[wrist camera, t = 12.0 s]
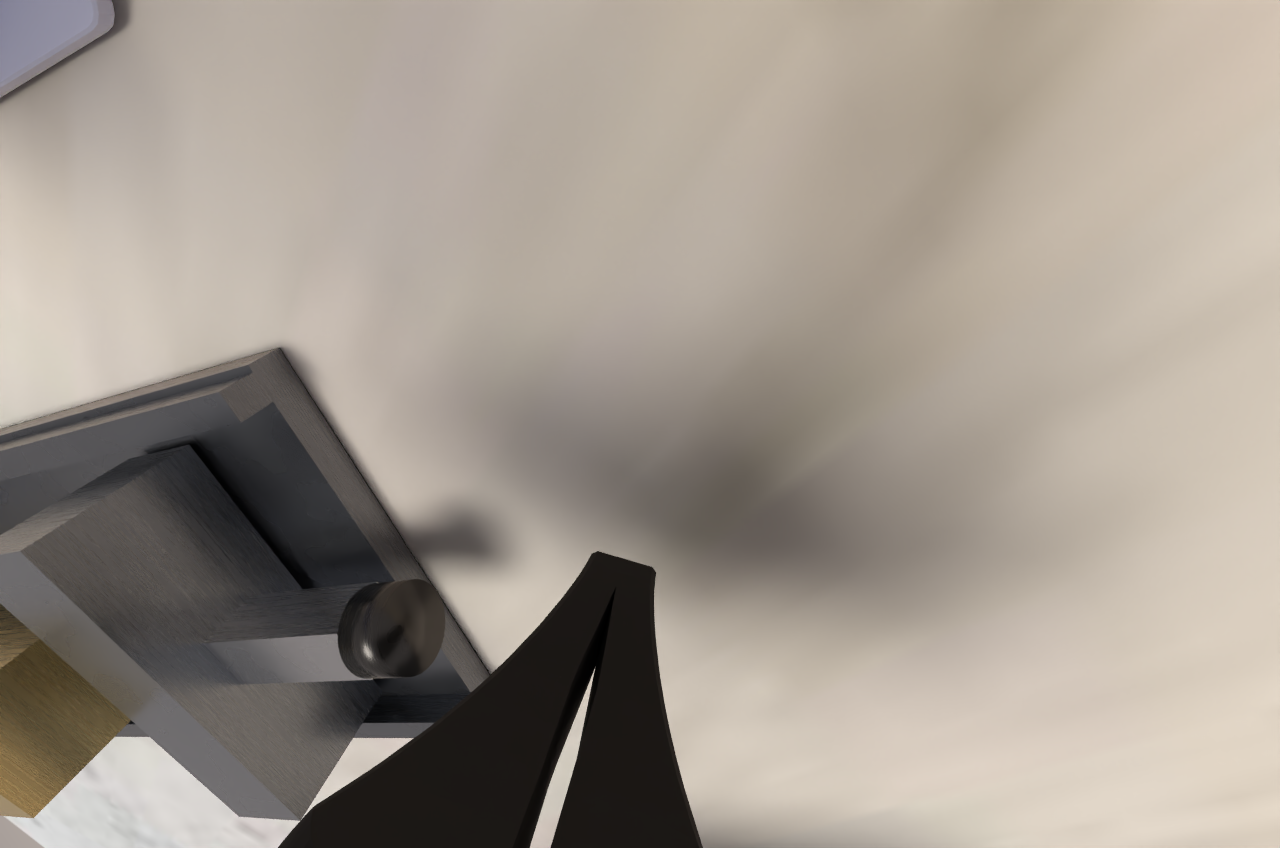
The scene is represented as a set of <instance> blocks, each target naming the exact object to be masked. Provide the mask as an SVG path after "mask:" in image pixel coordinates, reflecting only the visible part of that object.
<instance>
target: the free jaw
mask: <svg viewBox="0 0 1280 848" xmlns="http://www.w3.org/2000/svg"><path fill="white" fill-rule="evenodd" d="M0 604H1V605H3V606H4V607H5V608H6V609H7V610H8V611H9V612H10V613H12V614H13V615H14V616H15V617H16V618H17V619H18V620H19V621H20V622H22V623H23V624H24V625H25V626H26V627H27V628H28V629H29V630H31V631H32V632H33V633H34V634H35V635H36V636H37V637H38V638H40V639H41V640H42V641H43V642H44V643H45V644H46V645H47V646H49V647H50V648H51V649H52V650H53V651H54V652H55V653H56V654H57V655H59V656H60V657H61V658H62V659H63V660H64V661H65V662H66V663H68V664H69V665H70V666H71V667H72V668H73V669H74V670H75V671H77V672H78V673H79V674H80V675H81V676H82V677H83V678H84V679H86V680H87V681H88V682H89V683H90V684H91V685H92V686H93V687H94V688H96V689H97V690H98V691H99V692H100V693H101V694H102V695H103V696H105V697H106V698H107V699H108V700H109V701H110V702H111V703H112V704H114V705H115V706H116V707H117V708H118V709H119V710H120V711H121V712H123V713H124V714H125V715H126V716H127V717H128V718H129V719H130V720H131V721H133V722H134V723H135V724H136V725H137V726H138V727H139V728H140V729H142V730H143V731H144V732H145V733H146V734H147V735H148V736H149V737H151V738H152V739H153V740H154V741H155V742H156V743H157V744H158V745H159V746H161V747H162V748H163V749H164V750H165V751H166V752H167V753H168V754H170V755H171V756H172V757H173V758H174V759H175V760H176V761H177V762H179V763H180V764H181V765H182V766H183V767H184V768H185V769H186V770H188V771H189V772H190V773H191V774H192V775H193V776H194V777H195V778H196V779H198V780H199V781H200V782H201V783H202V784H203V785H204V786H205V787H207V788H208V789H209V790H210V791H211V792H212V793H213V794H214V795H216V796H217V797H218V798H219V799H220V800H221V801H222V802H223V803H225V804H226V805H227V806H228V807H229V808H230V809H231V810H232V811H233V812H235V813H236V814H237V815H238V816H239V817H254V818H269V819H283V820H298V821H300V820H301V819H302V817H303V816H304V814H305V813H306V811H307V809H308V808H309V806H310V805H311V803H312V802H313V800H314V798H315V797H316V795H317V794H318V792H319V791H320V789H321V787H322V786H323V784H324V783H325V781H326V780H327V778H328V776H329V775H330V773H331V772H332V770H333V769H334V767H335V765H336V764H337V762H338V761H339V759H340V758H341V756H342V754H343V753H344V751H345V750H346V748H347V747H348V745H349V743H350V742H351V740H352V739H353V737H354V736H355V734H356V732H357V731H358V729H359V728H360V726H361V725H362V723H363V721H364V720H365V718H366V717H367V715H368V714H369V712H370V710H371V709H372V707H373V706H374V704H375V703H376V701H377V699H378V698H379V696H380V695H381V693H382V692H383V691H382V690H381V689H380V687H379V686H378V685H377V684H376V682H375V681H374V680H373V679H377V678H404V677H414V676H417V675H419V674H421V673H423V672H424V671H425V670H427V669H428V668H429V667H430V665H431V664H432V663H433V662H434V660H435V659H436V657H437V655H438V653H439V651H440V648H441V645H442V642H443V638H444V633H445V612H444V607H443V603H442V600H441V598H440V596H439V594H438V592H437V591H436V589H435V588H434V587H433V586H432V585H431V584H430V583H428V582H426V581H424V580H421V579H411V580H401V581H392V582H382V583H378V582H370V583H361V584H351V585H342V586H332V587H323V588H313V589H304V590H303V589H302V588H301V587H300V585H299V584H298V583H297V582H296V580H295V579H294V578H293V576H292V575H291V574H290V573H289V571H288V570H287V569H286V567H285V566H284V565H283V564H282V562H281V561H280V560H279V559H278V557H277V556H276V555H275V553H274V552H273V551H272V550H271V548H270V547H269V546H268V545H267V543H266V542H265V541H264V539H263V538H262V537H261V536H260V534H259V533H258V532H257V530H256V529H255V528H254V527H253V525H252V524H251V523H250V522H249V520H248V519H247V518H246V516H245V515H244V514H243V513H242V511H241V510H240V509H239V508H238V506H237V505H236V504H235V502H234V501H233V500H232V499H231V497H230V496H229V495H228V493H227V492H226V491H225V490H224V488H223V487H222V486H221V485H220V483H219V482H218V481H217V479H216V478H215V477H214V476H213V474H212V473H211V472H210V471H209V469H208V468H207V467H206V465H205V464H204V463H203V462H202V460H201V459H200V458H199V456H198V455H197V454H196V453H195V451H194V450H193V449H192V448H191V446H190V445H185V446H181V447H177V448H172V449H168V450H164V451H160V452H155V453H151V454H147V455H143V456H138V457H134V458H130V459H128V460H126V461H124V462H123V463H121V464H119V465H118V466H116V467H114V468H113V469H111V470H109V471H108V472H106V473H104V474H103V475H101V476H99V477H97V478H96V479H94V480H92V481H91V482H89V483H87V484H86V485H84V486H82V487H81V488H79V489H77V490H76V491H74V492H72V493H71V494H69V495H67V496H65V497H64V498H62V499H60V500H59V501H57V502H55V503H54V504H52V505H50V506H49V507H47V508H45V509H44V510H42V511H40V512H39V513H37V514H35V515H33V516H32V517H30V518H28V519H27V520H25V521H23V522H22V523H20V524H18V525H17V526H15V527H13V528H12V529H10V530H8V531H6V532H5V533H3V534H1V535H0Z"/></svg>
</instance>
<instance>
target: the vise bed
mask: <svg viewBox="0 0 1280 848" xmlns="http://www.w3.org/2000/svg"><path fill="white" fill-rule="evenodd" d="M185 445H190V446H191V448H192V449H193V450H194V451H195V453H196V454H197V455H198V456H199V458H200V459H201V460H202V462H203V463H204V464H205V465H206V467H207V468H208V469H209V471H210V472H211V473H212V474H213V476H214V477H215V478H216V479H217V481H218V482H219V483H220V485H221V486H222V487H223V488H224V490H225V491H226V492H227V493H228V495H229V496H230V497H231V499H232V500H233V501H234V502H235V504H236V505H237V506H238V508H239V509H240V510H241V511H242V513H243V514H244V515H245V516H246V518H247V519H248V520H249V522H250V523H251V524H252V525H253V527H254V528H255V529H256V530H257V532H258V533H259V534H260V536H261V537H262V538H263V539H264V541H265V542H266V543H267V545H268V546H269V547H270V548H271V550H272V551H273V552H274V553H275V555H276V556H277V557H278V559H279V560H280V561H281V562H282V564H283V565H284V566H285V567H286V569H287V570H288V571H289V573H290V574H291V575H292V576H293V578H294V579H295V580H296V582H297V583H298V584H299V585H300V587H301V588H302V589H303V590H304V589H313V588H323V587H332V586H342V585H351V584H361V583H370V582H378V583H382V582H392V581H401V580H411V579H421V580H424V581H426V582H428V583H430V582H429V580H428V578H427V577H426V575H425V574H424V572H423V571H422V569H421V568H420V566H419V564H418V563H417V561H416V560H415V558H414V557H413V555H412V554H411V552H410V550H409V549H408V547H407V546H406V544H405V543H404V541H403V540H402V538H401V537H400V535H399V533H398V532H397V530H396V529H395V527H394V526H393V524H392V523H391V521H390V519H389V518H388V516H387V515H386V513H385V512H384V510H383V509H382V507H381V505H380V504H379V502H378V501H377V499H376V498H375V496H374V495H373V493H372V491H371V490H370V488H369V487H368V485H367V484H366V482H365V481H364V479H363V477H362V476H361V474H360V473H359V471H358V470H357V468H356V467H355V465H354V464H353V462H352V460H351V459H350V457H349V456H348V454H347V453H346V451H345V450H344V448H343V446H342V445H341V443H340V442H339V440H338V439H337V437H336V436H335V434H334V432H333V431H332V429H331V428H330V426H329V425H328V423H327V422H326V420H325V418H324V417H323V415H322V414H321V412H320V411H319V409H318V408H317V406H316V404H315V403H314V401H313V400H312V398H311V397H310V395H309V394H308V392H307V391H306V389H305V387H304V386H303V384H302V383H301V381H300V380H299V378H298V377H297V375H296V373H295V372H294V370H293V369H292V367H291V366H290V364H289V363H288V361H287V359H286V358H285V356H284V355H283V353H282V352H281V350H280V349H279V348H277V349H273V350H270V351H266V352H263V353H260V354H256V355H253V356H249V357H246V358H242V359H239V360H236V361H232V362H229V363H225V364H222V365H218V366H215V367H212V368H208V369H205V370H201V371H198V372H194V373H191V374H188V375H184V376H181V377H177V378H174V379H171V380H167V381H164V382H160V383H157V384H153V385H150V386H147V387H143V388H140V389H136V390H133V391H129V392H126V393H123V394H119V395H116V396H112V397H109V398H105V399H102V400H99V401H95V402H92V403H88V404H85V405H81V406H78V407H75V408H71V409H68V410H64V411H61V412H58V413H54V414H51V415H47V416H44V417H40V418H37V419H34V420H30V421H27V422H23V423H20V424H16V425H13V426H10V427H6V428H3V429H0V535H1V534H3V533H5V532H6V531H8V530H10V529H12V528H13V527H15V526H17V525H18V524H20V523H22V522H23V521H25V520H27V519H28V518H30V517H32V516H33V515H35V514H37V513H39V512H40V511H42V510H44V509H45V508H47V507H49V506H50V505H52V504H54V503H55V502H57V501H59V500H60V499H62V498H64V497H65V496H67V495H69V494H71V493H72V492H74V491H76V490H77V489H79V488H81V487H82V486H84V485H86V484H87V483H89V482H91V481H92V480H94V479H96V478H97V477H99V476H101V475H103V474H104V473H106V472H108V471H109V470H111V469H113V468H114V467H116V466H118V465H119V464H121V463H123V462H124V461H126V460H128V459H130V458H134V457H138V456H143V455H147V454H151V453H155V452H160V451H164V450H168V449H172V448H177V447H181V446H185ZM430 584H431V583H430ZM442 603H443V602H442ZM443 607H444V612H445V633H444V638H443V642H442V645H441V648H440V651H439V653H438V655H437V657H436V659H435V660H434V662H433V663H432V664H431V665H430V667H429V668H428V669H427V670H425V671H424V672H423V673H421V674H419V675H417V676H414V677H404V678H377V679H373V680H374V681H375V682H376V684H377V685H378V686H379V687H380V689H381V690H382V691H383V692H382V693H381V695H380V696H379V698H378V699H377V701H376V703H375V704H374V706H373V707H372V709H371V710H370V712H369V714H368V715H367V717H366V718H365V720H364V721H363V723H362V725H361V726H360V728H359V729H358V731H357V732H356V734H355V736H354V737H353V738H415V737H416V736H418V735H419V734H421V733H422V732H423V731H425V730H426V729H427V728H429V727H430V726H431V725H432V724H434V723H435V722H436V721H437V720H439V719H440V718H441V717H442V716H444V715H445V714H446V713H447V712H449V711H450V710H451V709H452V708H453V707H454V706H456V705H457V704H458V703H459V702H460V701H462V700H463V699H464V698H465V697H466V696H468V695H469V694H470V693H471V692H472V691H473V690H474V689H476V688H477V687H478V686H479V685H480V684H481V683H482V682H483V681H484V680H486V679H487V678H488V677H489V676H490V675H489V673H488V672H487V670H486V669H485V667H484V665H483V664H482V662H481V661H480V659H479V658H478V656H477V655H476V653H475V651H474V650H473V648H472V647H471V645H470V644H469V642H468V641H467V639H466V637H465V636H464V634H463V633H462V631H461V630H460V628H459V627H458V625H457V623H456V622H455V620H454V619H453V617H452V616H451V614H450V613H449V611H448V610H447V608H446V606H445V605H444V603H443ZM115 737H149V736H148V735H147V734H146V733H145V732H144V731H143V730H142V729H140V728H139V727H138V726H137V725H136V724H135V723H134V722H133V721H130V722H129V723H128V724H127V725H126V726H125V727H124V728H123V729H122V730H121V731H120V732H119V733H118V734H117V735H116V736H115Z"/></svg>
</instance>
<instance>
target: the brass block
mask: <svg viewBox="0 0 1280 848" xmlns="http://www.w3.org/2000/svg"><path fill="white" fill-rule="evenodd" d="M130 721H131V720H130V719H129V718H128V717H127V716H126V715H125V714H124V713H123V712H121V711H120V710H119V709H118V708H117V707H116V706H115V705H114V704H112V703H111V702H110V701H109V700H108V699H107V698H106V697H105V696H103V695H102V694H101V693H100V692H99V691H98V690H97V689H96V688H94V687H93V686H92V685H91V684H90V683H89V682H88V681H87V680H86V679H84V678H83V677H82V676H81V675H80V674H79V673H78V672H77V671H75V670H74V669H73V668H72V667H71V666H70V665H69V664H68V663H66V662H65V661H64V660H63V659H62V658H61V657H60V656H59V655H57V654H56V653H55V652H54V651H53V650H52V649H51V648H50V647H49V646H47V645H46V644H45V643H44V642H43V641H42V640H41V639H40V638H38V637H37V636H36V635H35V634H34V633H33V632H32V631H31V630H29V629H28V628H27V627H26V626H25V625H24V624H23V623H22V622H20V621H19V620H18V619H17V618H16V617H15V616H14V615H13V614H12V613H10V612H9V611H8V610H7V609H6V608H5V607H4V606H3V605H1V604H0V815H1V816H13V817H26V818H34V817H35V816H36V815H37V814H38V813H39V812H40V811H41V810H42V809H43V808H44V807H45V806H46V805H47V804H48V803H49V802H50V801H51V800H52V799H53V798H54V797H55V796H56V795H57V794H58V793H59V792H60V791H61V790H62V789H63V788H64V787H65V786H66V785H67V784H68V783H69V782H70V781H71V780H72V779H73V778H74V777H75V776H76V775H77V774H78V773H79V772H80V771H81V770H82V769H83V768H84V767H85V766H86V765H87V764H88V763H89V762H90V761H91V760H92V759H93V758H94V757H95V756H96V755H97V754H98V753H99V752H100V751H101V750H102V749H103V748H104V747H105V746H106V745H107V744H108V743H109V742H110V741H111V740H112V739H113V738H114V737H115V736H116V735H117V734H118V733H119V732H120V731H121V730H122V729H123V728H124V727H125V726H126V725H127V724H128V723H129V722H130Z"/></svg>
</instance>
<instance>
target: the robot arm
mask: <svg viewBox="0 0 1280 848" xmlns="http://www.w3.org/2000/svg"><path fill="white" fill-rule="evenodd" d="M114 17H115V12H114V7H113V2H112V0H0V98H1V97H2V96H4V95H6V94H7V93H9V92H10V91H12V90H14V89H15V88H17V87H19V86H20V85H22V84H24V83H25V82H27V81H28V80H30V79H32V78H33V77H35V76H37V75H38V74H40V73H42V72H43V71H45V70H46V69H48V68H50V67H51V66H53V65H55V64H56V63H58V62H59V61H61V60H63V59H64V58H66V57H68V56H69V55H71V54H73V53H74V52H76V51H77V50H79V49H81V48H82V47H84V46H86V45H87V44H89V43H90V42H92V41H94V40H95V39H97V38H99V37H100V36H102V35H104V34H105V33H107V32H108V31H109V30H110V29H111V28H112V26H113V24H114ZM655 577H656V572H655V570H654V569H653V567H650V566H646V565H643V564H640V563H636V562H633V561H629V560H626V559H623V558H619V557H616V556H612V555H609V554H606V553H602V552H599V551H597V552H595V553H592V555H591V556H590V558H589V560H588V562H587V564H586V565H585V567H584V568H583V570H582V572H581V573H580V575H579V576H578V577H577V579H576V580H575V582H574V583H573V584H572V586H571V587H570V588H569V590H568V591H567V592H566V594H565V595H564V596H563V598H562V599H561V600H560V601H559V602H558V604H557V605H556V606H555V607H554V608H553V610H552V611H551V612H550V613H549V614H548V616H547V617H546V618H545V619H544V620H543V622H542V623H541V624H540V625H539V626H538V627H537V628H536V629H535V630H534V631H533V633H532V634H531V635H530V636H529V637H528V638H527V639H526V640H525V641H524V642H523V643H522V644H521V645H520V646H519V647H518V648H517V649H516V651H515V652H514V653H513V654H512V655H511V656H510V657H509V658H508V659H507V660H506V661H505V662H504V663H503V664H502V665H500V666H499V667H498V668H497V669H496V670H495V671H494V672H493V673H492V674H491V675H490V676H489V677H488V678H487V679H486V680H484V681H483V682H482V683H481V684H480V685H479V686H478V687H477V688H476V689H474V690H473V691H472V692H471V693H470V694H469V695H468V696H466V697H465V698H464V699H463V700H462V701H460V702H459V703H458V704H457V705H456V706H454V707H453V708H452V709H451V710H450V711H449V712H447V713H446V714H445V715H444V716H442V717H441V718H440V719H439V720H437V721H436V722H435V723H434V724H432V725H431V726H430V727H429V728H427V729H426V730H425V731H423V732H422V733H421V734H419V735H418V736H416V737H415V738H414V739H412V740H411V741H410V742H408V743H407V744H406V745H404V746H403V747H401V748H400V749H399V750H397V751H396V752H395V753H393V754H392V755H391V756H389V757H388V758H387V759H385V760H384V761H382V762H381V763H379V764H378V765H377V766H375V767H374V768H372V769H371V770H369V771H368V772H366V773H365V774H363V775H362V776H360V777H358V778H357V779H355V780H354V781H352V782H351V783H349V784H348V785H346V786H345V787H343V788H342V789H340V790H338V791H337V792H335V793H334V794H332V795H331V796H329V797H328V798H326V799H325V800H323V801H322V802H320V803H318V804H317V805H316V806H314V807H313V808H312V809H311V810H310V811H309V812H308V813H307V814H306V815H305V817H304V818H303V819H302V820H301V821H300V822H299V823H298V824H297V825H296V827H295V828H294V829H293V830H292V831H291V832H290V834H289V835H288V836H287V837H286V838H285V840H284V841H283V842H282V843H281V844H280V846H279V847H278V848H530V844H531V841H532V838H533V835H534V831H535V828H536V825H537V822H538V819H539V815H540V812H541V809H542V806H543V802H544V799H545V796H546V793H547V789H548V786H549V784H550V781H551V778H552V775H553V772H554V770H555V767H556V764H557V762H558V759H559V757H560V754H561V752H562V749H563V747H564V744H565V742H566V739H567V737H568V734H569V732H570V729H571V727H572V724H573V722H574V719H575V717H576V714H577V712H578V709H579V707H580V704H581V702H582V699H583V696H584V694H585V691H586V689H587V686H588V684H589V681H590V679H591V676H592V674H593V671H594V669H595V672H594V677H593V682H592V687H591V692H590V697H589V702H588V707H587V712H586V717H585V721H584V726H583V731H582V736H581V741H580V746H579V751H578V756H577V760H576V763H575V767H574V770H573V774H572V777H571V780H570V784H569V787H568V791H567V794H566V797H565V801H564V804H563V808H562V811H561V814H560V818H559V821H558V825H557V828H556V831H555V835H554V838H553V842H552V845H551V848H703V846H702V843H701V840H700V837H699V834H698V831H697V827H696V824H695V821H694V818H693V815H692V811H691V808H690V805H689V802H688V799H687V795H686V792H685V789H684V785H683V782H682V778H681V774H680V770H679V766H678V763H677V759H676V755H675V751H674V746H673V742H672V738H671V733H670V729H669V724H668V719H667V714H666V709H665V704H664V698H663V692H662V686H661V679H660V672H659V665H658V656H657V647H656V637H655V622H654V587H655ZM595 666H596V667H595Z"/></svg>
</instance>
